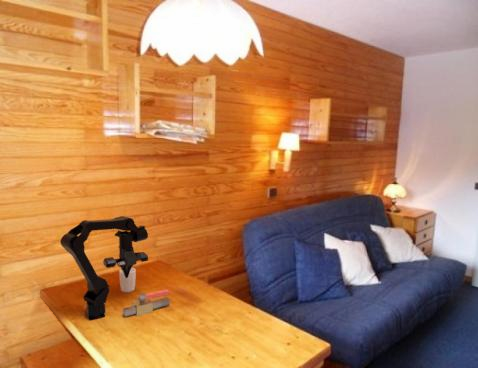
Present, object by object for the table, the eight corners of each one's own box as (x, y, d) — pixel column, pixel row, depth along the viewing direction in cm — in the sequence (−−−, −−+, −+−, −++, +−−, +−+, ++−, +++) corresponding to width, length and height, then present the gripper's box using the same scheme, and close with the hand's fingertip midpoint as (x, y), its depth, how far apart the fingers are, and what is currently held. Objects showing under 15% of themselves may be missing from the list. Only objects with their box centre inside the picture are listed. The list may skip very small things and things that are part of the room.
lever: (139, 301, 159) (139, 297, 159) (137, 299, 161) (137, 295, 161) (169, 295, 166) (169, 291, 166) (167, 292, 169) (167, 288, 169)
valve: (126, 319, 155) (126, 307, 154) (121, 313, 160) (121, 301, 159) (170, 307, 166) (170, 296, 165) (165, 302, 171) (165, 291, 170)
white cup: (133, 293, 180) (133, 273, 179) (117, 292, 180) (116, 273, 179) (138, 286, 188) (137, 267, 187) (122, 286, 188) (122, 267, 187)
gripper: (109, 252, 154) (110, 288, 156) (152, 246, 165) (152, 279, 167) (102, 245, 163) (103, 279, 166) (143, 239, 174) (143, 271, 176)
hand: (126, 277), depth 168 cm, fingers closed
